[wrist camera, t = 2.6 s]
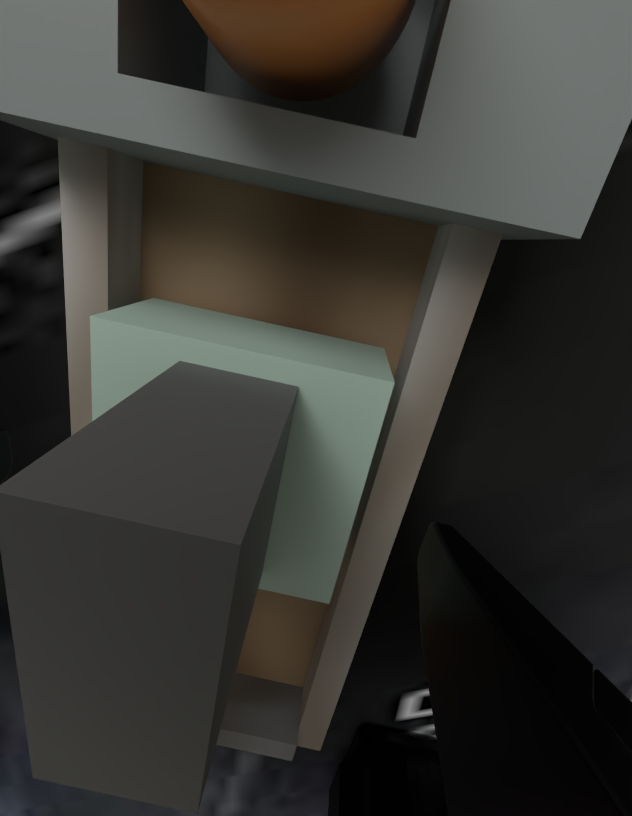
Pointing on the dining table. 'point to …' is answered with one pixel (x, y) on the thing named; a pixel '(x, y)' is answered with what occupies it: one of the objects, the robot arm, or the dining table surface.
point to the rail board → (295, 308)
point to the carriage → (177, 534)
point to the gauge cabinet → (349, 107)
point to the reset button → (302, 41)
